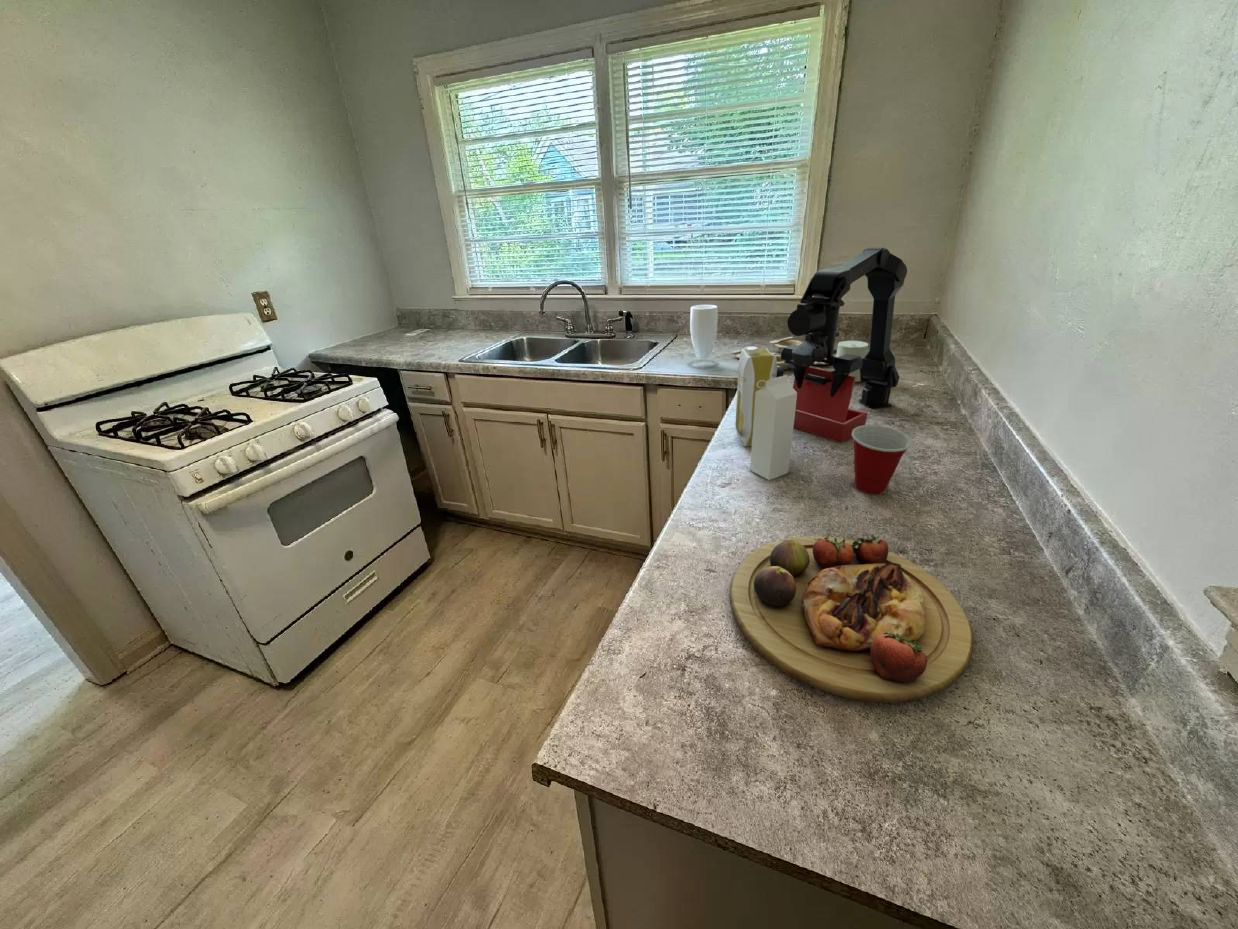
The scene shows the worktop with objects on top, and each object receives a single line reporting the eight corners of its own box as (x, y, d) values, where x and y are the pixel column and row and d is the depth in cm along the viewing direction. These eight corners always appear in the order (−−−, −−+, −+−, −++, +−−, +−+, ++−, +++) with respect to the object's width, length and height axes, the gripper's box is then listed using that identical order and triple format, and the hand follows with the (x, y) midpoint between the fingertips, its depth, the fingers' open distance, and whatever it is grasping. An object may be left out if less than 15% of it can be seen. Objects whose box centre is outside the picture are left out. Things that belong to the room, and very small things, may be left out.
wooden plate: (1022, 723, 56) (1046, 672, 52) (733, 694, 61) (736, 646, 57) (917, 550, 84) (928, 509, 80) (726, 541, 89) (728, 502, 85)
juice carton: (733, 433, 131) (737, 343, 120) (762, 432, 131) (769, 341, 120) (741, 448, 123) (746, 353, 112) (773, 446, 122) (781, 351, 112)
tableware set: (725, 355, 200) (726, 345, 198) (784, 344, 209) (785, 334, 208) (783, 376, 171) (784, 365, 169) (848, 363, 180) (849, 352, 178)
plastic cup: (876, 507, 96) (887, 451, 91) (831, 484, 105) (839, 432, 99) (912, 491, 100) (925, 437, 95) (866, 470, 109) (876, 420, 104)
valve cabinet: (811, 415, 139) (813, 398, 137) (864, 430, 128) (867, 413, 126) (787, 425, 134) (789, 408, 132) (841, 442, 122) (843, 424, 120)
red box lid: (799, 364, 127) (787, 365, 125) (856, 376, 116) (845, 377, 113) (790, 407, 132) (779, 409, 129) (845, 422, 120) (834, 425, 117)
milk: (788, 473, 110) (800, 378, 100) (768, 480, 108) (778, 384, 98) (768, 463, 115) (777, 371, 105) (749, 470, 113) (756, 376, 102)
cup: (720, 362, 192) (722, 304, 182) (710, 369, 184) (711, 309, 174) (696, 359, 197) (696, 303, 187) (684, 366, 189) (684, 308, 179)
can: (832, 381, 163) (837, 345, 158) (833, 373, 171) (838, 338, 166) (863, 383, 160) (869, 346, 155) (862, 374, 168) (868, 339, 162)
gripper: (768, 328, 118) (763, 391, 125) (840, 340, 104) (830, 410, 111) (797, 321, 123) (791, 381, 130) (869, 331, 110) (858, 397, 117)
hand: (815, 392), depth 122 cm, fingers open, 9 cm apart
